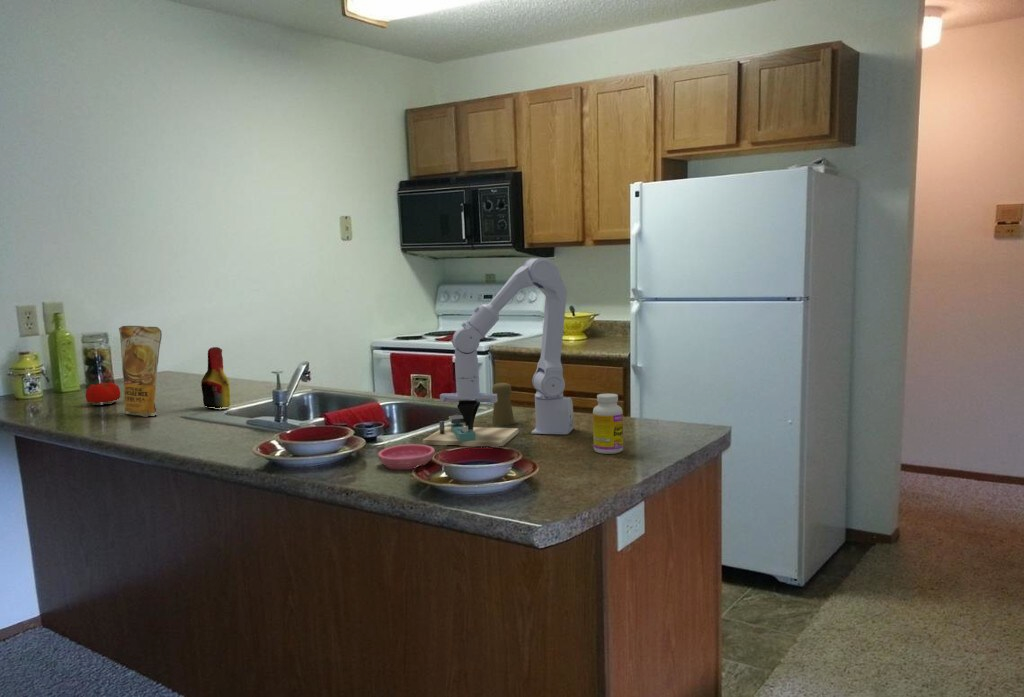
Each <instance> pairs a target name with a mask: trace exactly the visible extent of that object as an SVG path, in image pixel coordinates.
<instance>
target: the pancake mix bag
mask: <svg viewBox="0 0 1024 697" xmlns="http://www.w3.org/2000/svg"><path fill="white" fill-rule="evenodd" d="M118 330H119V337H120V352H121V353H120V354H121V372H122V376H123V377H122V379H123V384H124V385H123V387H124V388H123V389H124V390H123V391H124V412H125V411H129V412H137V413H155V412H156V410H157V408H156V403H155V398H156V389H157V388H156V386H157V376H158V365H159V357H160V356H159V355H160V347H161V344H162V343H161V342H162V329H160V328H159V327H158V326H143V325H142V326H141V325H122V326H120V327H118Z"/></svg>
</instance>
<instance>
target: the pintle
mask: <svg viewBox="0 0 1024 697" xmlns="http://www.w3.org/2000/svg"><path fill="white" fill-rule="evenodd" d="M462 425H463V424H462ZM462 427H463V433H468V432H469V431H468V425H466V424H464V425H463V426H462Z"/></svg>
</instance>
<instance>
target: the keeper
mask: <svg viewBox="0 0 1024 697" xmlns="http://www.w3.org/2000/svg"><path fill="white" fill-rule="evenodd" d="M448 421H449V422H450V423H451V425H457V424H463V423H464V424H466V423H465V421H464V418H463V416H462V414H453V415H449V416H448ZM438 424H439V430H440V434H444V433H445V429H444V427H445V420H439V422H438Z"/></svg>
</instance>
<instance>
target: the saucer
mask: <svg viewBox="0 0 1024 697" xmlns="http://www.w3.org/2000/svg"><path fill="white" fill-rule="evenodd" d="M435 455H436V450H435V448H434V447H433V446H432V445H423V444H420V443H419V444H417V443H416V444H414V443H413V444H399V445H393V446H389V447H387V448H386V447H385V448H383V449H381V450H380V451H379V452H378V453H377V459H378V460H379V461H380V463H381V464H383V465H384V466H385V467H386V468H388V469H389V470H390V469H391V470H399V471H403V470H404V471H405V470H414V469H413V468H414V467H416V466H417V465H420V464H423V463H425V462H428V461H429V462H430V461H431V460H432V459H433V457H434V456H435Z"/></svg>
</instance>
